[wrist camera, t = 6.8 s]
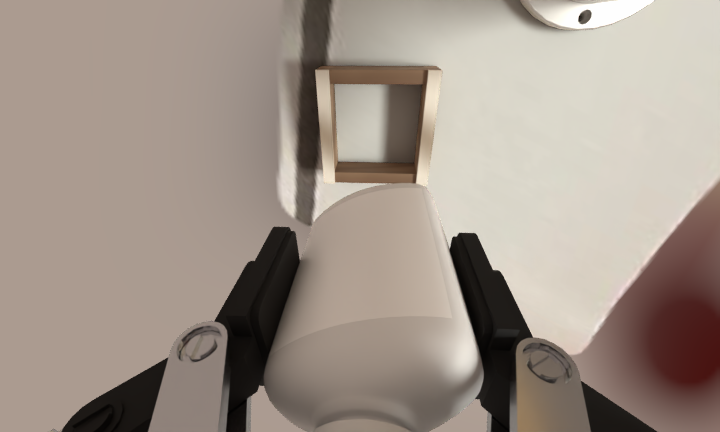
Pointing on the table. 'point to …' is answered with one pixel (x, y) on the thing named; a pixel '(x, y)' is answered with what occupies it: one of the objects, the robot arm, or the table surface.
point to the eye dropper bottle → (375, 321)
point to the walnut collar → (377, 75)
